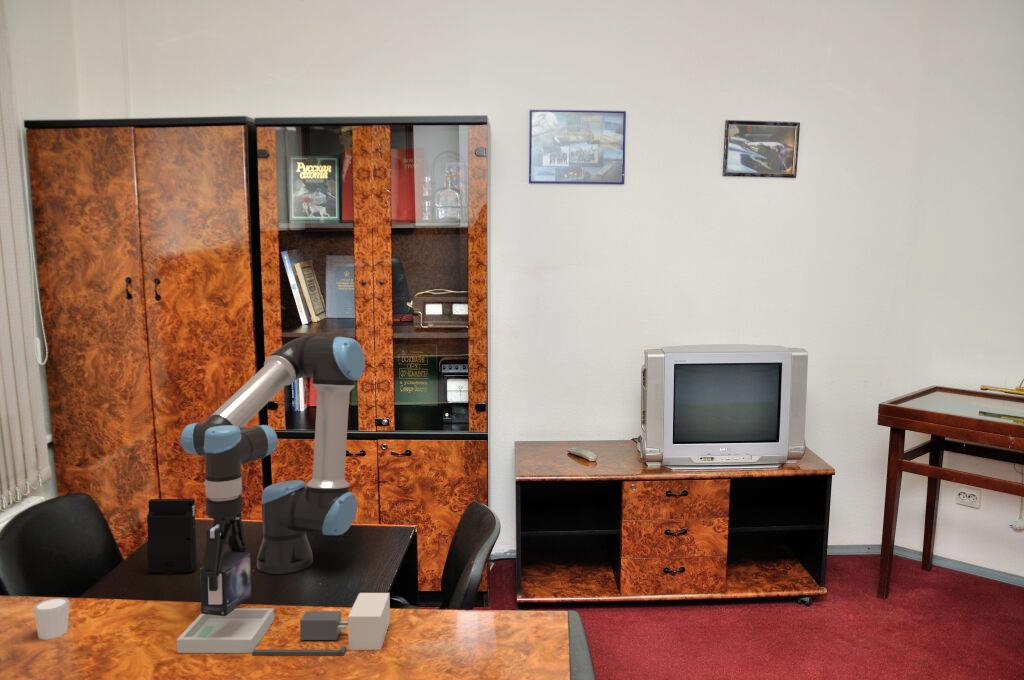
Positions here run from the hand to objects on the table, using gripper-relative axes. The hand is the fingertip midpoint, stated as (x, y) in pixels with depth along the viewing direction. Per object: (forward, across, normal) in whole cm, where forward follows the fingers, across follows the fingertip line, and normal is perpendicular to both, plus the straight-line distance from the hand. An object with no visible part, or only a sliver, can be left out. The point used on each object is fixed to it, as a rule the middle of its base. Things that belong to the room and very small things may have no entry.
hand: (226, 592), depth 163 cm
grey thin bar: (+10, +8, +18) cm, 22 cm away
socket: (+10, 0, +31) cm, 33 cm away
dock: (+10, 0, 0) cm, 10 cm away
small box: (+3, 0, 0) cm, 3 cm away
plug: (+10, 0, +21) cm, 23 cm away
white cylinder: (+11, -1, -40) cm, 41 cm away
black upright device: (+10, -36, -29) cm, 47 cm away
